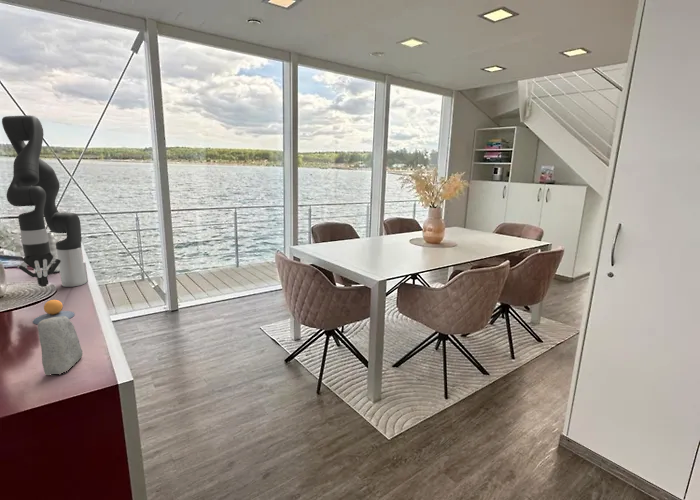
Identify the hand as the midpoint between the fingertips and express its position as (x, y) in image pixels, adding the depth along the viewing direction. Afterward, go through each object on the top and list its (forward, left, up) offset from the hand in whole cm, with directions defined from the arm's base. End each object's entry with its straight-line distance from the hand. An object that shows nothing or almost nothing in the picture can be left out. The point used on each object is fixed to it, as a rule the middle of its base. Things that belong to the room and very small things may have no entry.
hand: (43, 286), depth 140 cm
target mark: (+5, +8, -10) cm, 14 cm away
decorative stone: (+33, +40, -10) cm, 53 cm away
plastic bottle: (-45, -42, -10) cm, 62 cm away
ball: (+2, +5, -7) cm, 9 cm away
